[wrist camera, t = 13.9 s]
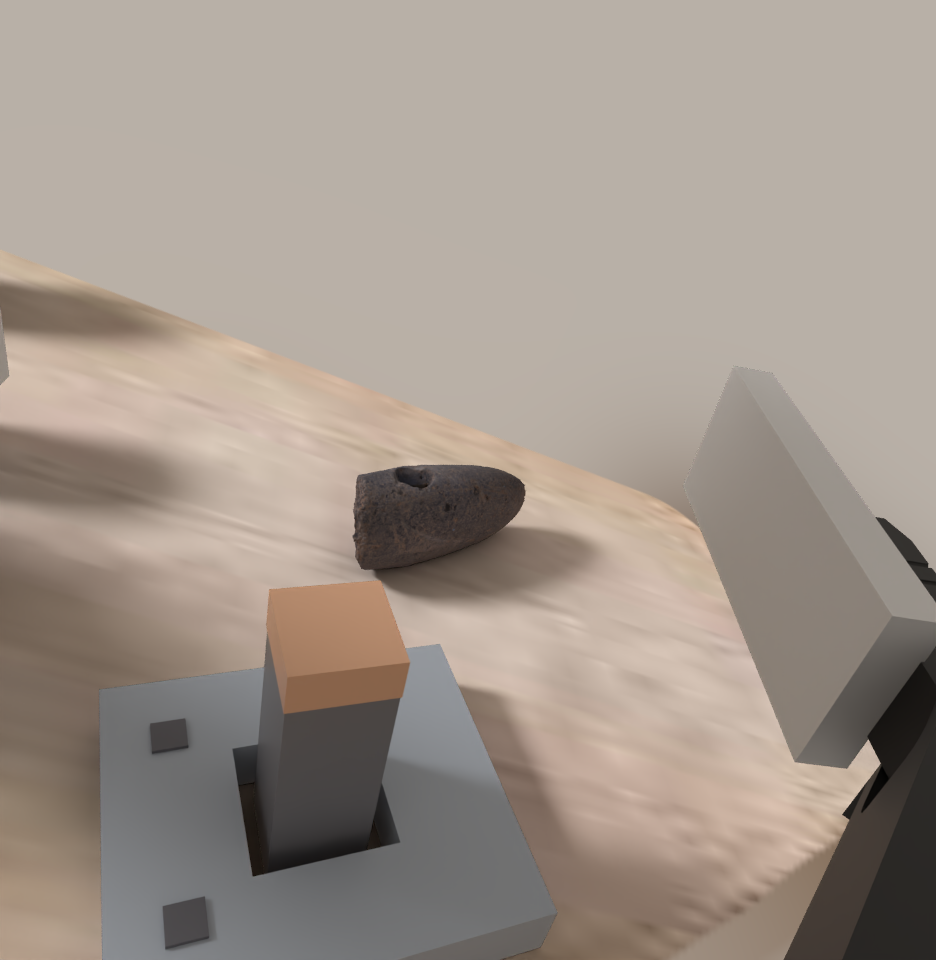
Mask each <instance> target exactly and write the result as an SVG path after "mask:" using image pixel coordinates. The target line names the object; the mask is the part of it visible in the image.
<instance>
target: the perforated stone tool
mask: <svg viewBox="0 0 936 960" xmlns="http://www.w3.org/2000/svg"><path fill="white" fill-rule="evenodd" d="M356 483H357V484H356V498H355V503H354V509H353V512H354V516H355V517H354V519H355V525H354V526H355V529H356V530H355V534H354V535H353V539H354V541H355V546H356V555H355V557H356V559H357V560H358V563H359V564H360V567H361V569H364V570H370V569H381V568H393V567H403V566H409V565H412V564H415V563H419V562H423V561H426V560H430V559H433V558H436V557H439V556H442V555H445V554H448V553H451V552H454V551H457V550H460V549H462V548H465V547H467V546H470V545H472V544H475V543H477V542H479V541H481V540H484V539H486V538H487V537H489V536H491V535H493V534H494V533H496V532H497V531H499V530H500V529H502V528H503V527H504V526H506V525H507V524H508V523H509V522H510V521H511V520H512V519H513V518H514V517H515V516H516V515H517V513H518V512H519V511H520V509H521V507H522V505H523V502H524V499H525V498H524V496H525V489H524V486H525V485H524V484H523V483H522V482H521V481H520V479H518V478H517V477H515V476H513V475H511V474H509V473H507V472H505V471H502V470H499V469H495V468H490V467H482V466H474V465H418V466H402V467H397V468H392V469H388V470H383V471H378V472H372V473H368V474H362V475H359V476H358V477H357V482H356Z"/></svg>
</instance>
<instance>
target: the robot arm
mask: <svg viewBox="0 0 936 960" xmlns="http://www.w3.org/2000/svg"><path fill="white" fill-rule="evenodd" d="M8 377H9V370H8V362H7V355H6V347H5V339H4V332H3V324H2V316H1V309H0V385H1V384H2V383H3V382H4V381H5V380H6V379H7V378H8ZM683 488H684V490H685V492H686V495H687V497H688V500H689V502H690V505H691V507H692V510H693V512H694V515H695V517H696V520H697V522H698V525H699V527H700V530H701V532H702V534H703V537H704V539H705V542H706V544H707V547H708V549H709V552H710V554H711V557H712V559H713V562H714V564H715V567H716V569H717V571H718V574H719V576H720V579H721V581H722V584H723V586H724V589H725V591H726V594H727V596H728V599H729V601H730V604H731V606H732V608H733V611H734V613H735V616H736V618H737V621H738V623H739V626H740V628H741V631H742V633H743V636H744V638H745V641H746V643H747V645H748V648H749V650H750V653H751V655H752V658H753V660H754V663H755V665H756V668H757V670H758V673H759V675H760V678H761V680H762V682H763V685H764V687H765V690H766V692H767V695H768V697H769V700H770V702H771V705H772V707H773V710H774V712H775V715H776V717H777V719H778V722H779V724H780V727H781V729H782V732H783V734H784V737H785V739H786V742H787V744H788V747H789V749H790V752H791V754H792V756H793V759H794V761H795V762H798V763H806V764H814V765H822V766H830V767H838V768H846V769H847V768H848V766H849V765H850V764H851V762H852V761H853V760H854V758H855V757H856V755H857V754H858V753H859V751H860V750H861V749H862V747H863V746H864V744H865V743H866V742H867V740H868V739H869V741H870V743H871V745H872V747H873V749H874V751H875V753H876V755H877V757H878V759H879V761H880V763H881V764H880V766H879V767H878V768H877V770H876V771H875V772H874V774H873V775H872V776H871V778H870V779H869V780H868V781H867V783H866V784H865V785H864V787H863V788H862V789H861V791H860V792H859V793H858V795H857V796H856V797H855V799H854V800H853V801H852V802H851V804H850V805H849V806H848V808H847V809H846V810H845V812H844V813H843V814H842V815H844V816H845V817H846V818H848V819H849V822H848V824H847V827H846V829H845V831H844V833H843V835H842V837H841V839H840V841H839V844H838V846H837V848H836V850H835V852H834V854H833V856H832V859H831V861H830V863H829V865H828V867H827V869H826V871H825V873H824V875H823V878H822V880H821V882H820V884H819V886H818V888H817V890H816V892H815V895H814V897H813V899H812V901H811V903H810V905H809V907H808V909H807V912H806V914H805V916H804V918H803V920H802V922H801V924H800V926H799V929H798V931H797V933H796V935H795V937H794V939H793V941H792V943H791V946H790V948H789V950H788V952H787V954H786V956H785V958H784V960H936V573H935V572H934V570H933V569H932V568H928V562H927V561H926V560H925V558H924V557H923V556H922V554H921V553H920V552H919V550H918V549H917V548H916V546H915V545H914V544H913V542H912V541H911V540H910V539H909V538H907V537H906V536H905V535H904V534H903V533H901V532H900V531H899V530H898V529H896V528H895V527H894V526H893V525H891V524H890V523H889V522H888V521H887V520H886V519H884V518H877V517H875V516H874V515H873V514H872V512H871V511H870V509H869V508H868V507H867V505H866V504H865V502H864V501H863V500H862V498H861V497H860V496H859V494H858V493H857V491H856V490H855V488H854V487H853V486H852V484H851V483H850V481H849V480H848V479H847V478H846V476H845V475H844V473H843V472H842V470H841V469H840V467H839V466H838V465H837V463H836V462H835V460H834V459H833V457H832V456H831V455H830V453H829V452H828V451H827V449H826V448H825V446H824V445H823V443H822V442H821V441H820V439H819V438H818V436H817V435H816V434H815V432H814V431H813V430H812V428H811V427H810V425H809V424H808V422H807V421H806V420H805V418H804V417H803V415H802V414H801V413H800V411H799V410H798V408H797V407H796V406H795V404H794V403H793V401H792V400H791V399H790V397H789V396H788V394H787V393H786V392H785V390H784V389H783V387H782V386H781V385H780V383H779V382H778V380H777V379H776V377H775V376H774V375H773V373H770V372H765V371H759V370H754V369H748V368H743V367H738V366H733V368H732V371H731V373H730V375H729V378H728V380H727V383H726V385H725V387H724V390H723V392H722V394H721V397H720V399H719V402H718V404H717V406H716V409H715V411H714V414H713V416H712V418H711V421H710V423H709V425H708V428H707V430H706V432H705V435H704V437H703V440H702V442H701V445H700V447H699V449H698V452H697V454H696V457H695V459H694V461H693V464H692V466H691V468H690V471H689V473H688V475H687V478H686V480H685V482H684V485H683Z"/></svg>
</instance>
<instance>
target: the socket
mask: <svg viewBox="0 0 936 960" xmlns="http://www.w3.org/2000/svg"><path fill="white" fill-rule="evenodd" d="M406 652H407V654H408V657H409V660H410V666H409V670H408V675H407V679H406V684H405V688H404V693H403V697H402V698H400V703H399V707H398V712H397V716H396V720H395V725H394V729H393V734H392V738H391V743H390V747H389V752H388V756H387V761H386V765H385V770H384V774H383V779H382V783H381V788H380V792H379V796H378V801H377V805H376V810H375V814H374V822H375V826H376V829H377V833H378V836H379V839H380V843H381V846H382V847H379V848H375V849H370V850H366V851H362V852H357V853H353V854H349V855H344V856H340V857H336V858H332V859H327V860H323V861H319V862H314V863H310V864H306V865H301V866H297V867H293V868H288V869H284V870H280V871H276V872H271V873H267V874H263V875H258V876H254V877H252V870H251V864H250V858H249V851H248V845H247V839H246V832H245V826H244V820H243V813H242V807H241V801H240V794H239V788H238V785H242V784H247V783H253V782H255V773H256V761H257V749H258V737H259V725H260V713H261V701H262V689H263V677H264V668H256V669H249V670H241V671H234V672H227V673H219V674H212V675H204V676H197V677H189V678H182V679H174V680H167V681H159V682H152V683H144V684H137V685H129V686H122V687H114V688H107V689H99V725H100V814H101V904H102V960H501V959H504V958H508V957H511V956H514V955H517V954H521V953H524V952H527V951H530V950H534V949H537V948H540V947H541V946H542V944H543V942H544V940H545V938H546V935H547V933H548V931H549V929H550V927H551V925H552V923H553V921H554V919H555V917H556V915H557V910H556V908H555V906H554V904H553V901H552V899H551V897H550V894H549V892H548V890H547V888H546V885H545V883H544V881H543V878H542V876H541V874H540V872H539V869H538V867H537V865H536V862H535V860H534V858H533V856H532V853H531V851H530V849H529V846H528V844H527V842H526V840H525V837H524V835H523V833H522V830H521V828H520V826H519V824H518V821H517V819H516V817H515V814H514V812H513V810H512V808H511V805H510V803H509V801H508V798H507V796H506V794H505V792H504V789H503V787H502V785H501V782H500V780H499V778H498V776H497V773H496V771H495V769H494V766H493V764H492V762H491V760H490V757H489V755H488V753H487V750H486V748H485V746H484V744H483V741H482V739H481V737H480V734H479V732H478V730H477V728H476V725H475V723H474V721H473V719H472V716H471V714H470V712H469V709H468V707H467V705H466V703H465V700H464V698H463V696H462V693H461V691H460V689H459V687H458V684H457V682H456V680H455V677H454V675H453V673H452V671H451V668H450V666H449V664H448V661H447V659H446V657H445V655H444V652H443V650H442V648H441V645H440V644H436V645H429V646H421V647H414V648H406Z"/></svg>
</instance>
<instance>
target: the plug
mask: <svg viewBox="0 0 936 960" xmlns="http://www.w3.org/2000/svg"><path fill="white" fill-rule="evenodd" d="M266 626H267V640H266V653H265V665H264V677H263V689H262V701H261V713H260V725H259V737H258V749H257V761H256V773H255V785H254V797H253V802H254V809H255V815H256V822H257V829H258V836H259V843H260V850H261V857H262V864H263V871H264V874H267V873H271V872H276V871H280V870H284V869H288V868H293V867H297V866H301V865H306V864H310V863H314V862H319V861H323V860H327V859H332V858H336V857H340V856H344V855H349V854H353V853H357V852H362V851H366V850H367V846H368V841H369V837H370V832H371V828H372V823H373V819H374V814H375V810H376V805H377V801H378V796H379V792H380V788H381V783H382V779H383V774H384V770H385V765H386V761H387V756H388V752H389V747H390V743H391V738H392V734H393V729H394V725H395V720H396V716H397V712H398V707H399V703H400V698H402V697H403V693H404V688H405V684H406V679H407V675H408V670H409V666H410V660H409V657H408V654H407V652H406V649H405V646H404V643H403V641H402V638H401V635H400V632H399V630H398V627H397V624H396V621H395V619H394V616H393V613H392V610H391V608H390V605H389V602H388V599H387V596H386V594H385V591H384V588H383V585H382V583H381V580H379V581H366V582H354V583H342V584H330V585H317V586H305V587H293V588H281V589H269V598H268V611H267V623H266Z"/></svg>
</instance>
